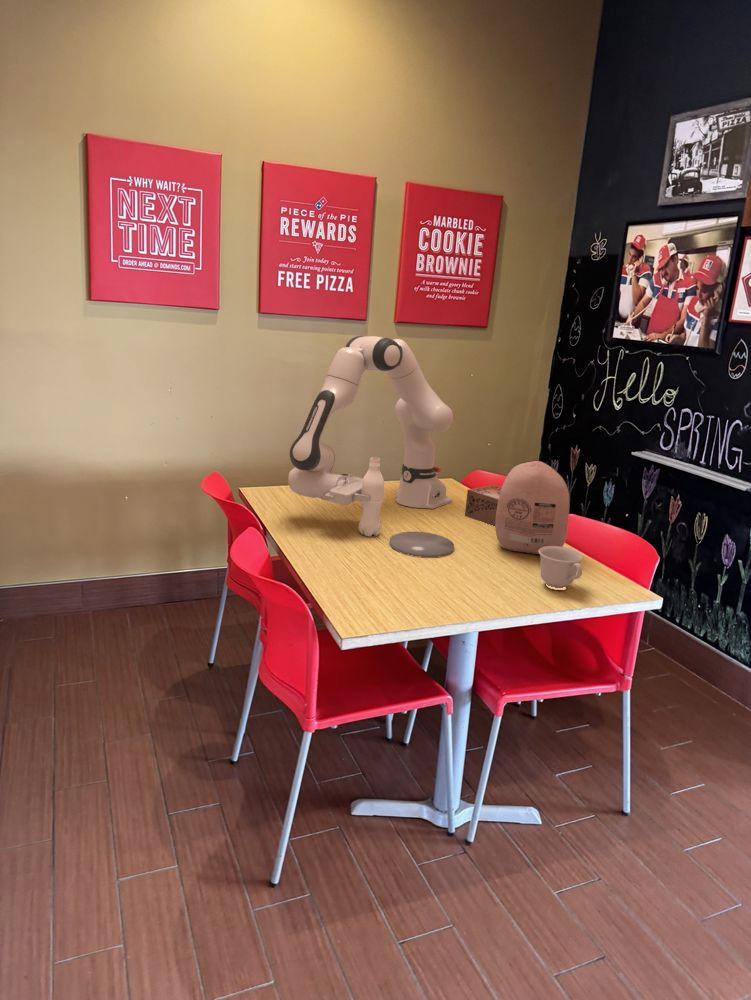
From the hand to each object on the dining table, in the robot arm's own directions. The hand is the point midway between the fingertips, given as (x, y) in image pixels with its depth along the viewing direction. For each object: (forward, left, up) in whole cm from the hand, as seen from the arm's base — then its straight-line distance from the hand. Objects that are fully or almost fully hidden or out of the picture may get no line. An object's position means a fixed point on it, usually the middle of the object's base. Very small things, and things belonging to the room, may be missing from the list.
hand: (374, 495), depth 227 cm
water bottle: (0, -1, -13) cm, 13 cm away
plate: (-6, +16, -13) cm, 21 cm away
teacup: (-12, +61, -13) cm, 64 cm away
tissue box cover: (-50, +17, -14) cm, 54 cm away
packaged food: (-30, +39, -13) cm, 51 cm away
